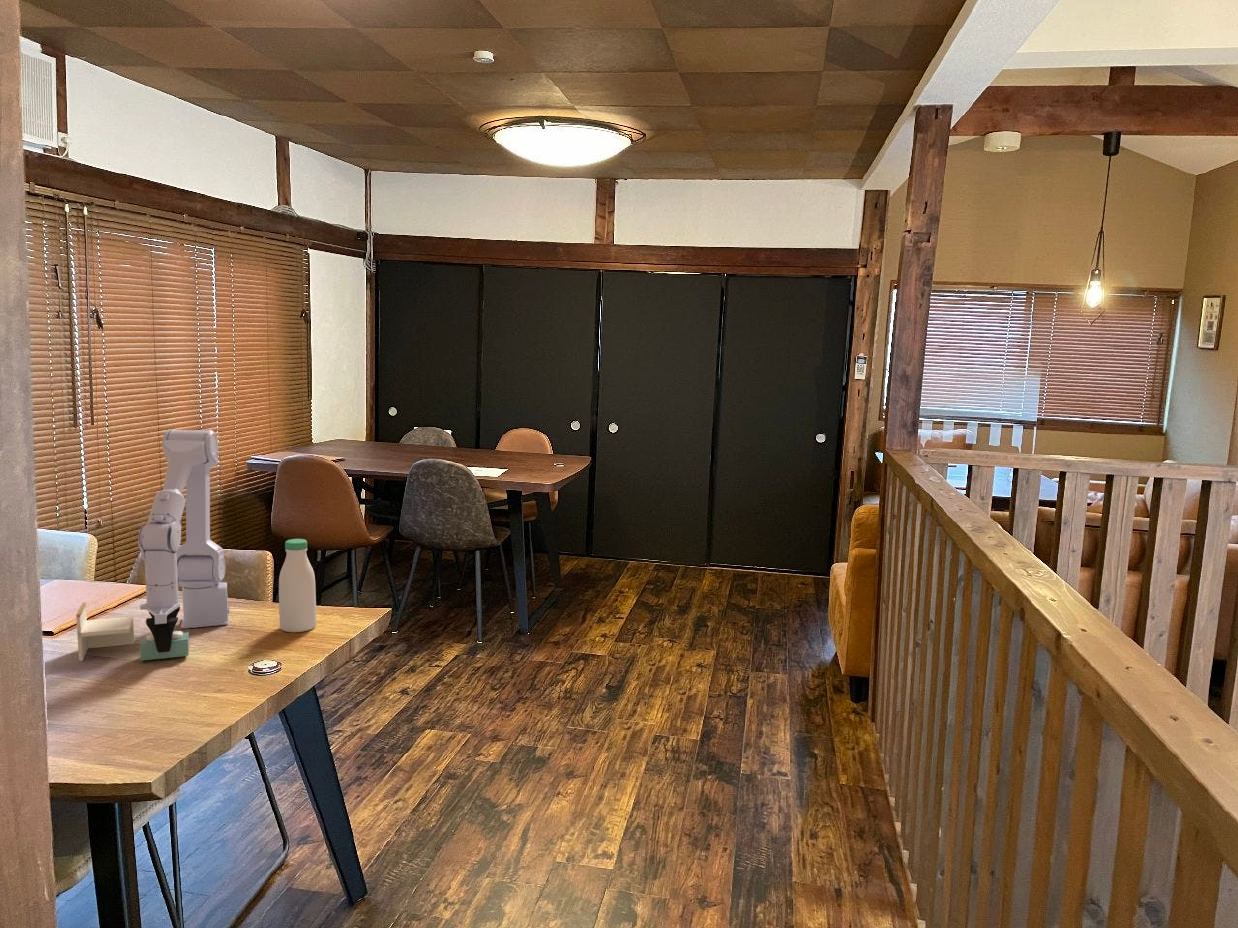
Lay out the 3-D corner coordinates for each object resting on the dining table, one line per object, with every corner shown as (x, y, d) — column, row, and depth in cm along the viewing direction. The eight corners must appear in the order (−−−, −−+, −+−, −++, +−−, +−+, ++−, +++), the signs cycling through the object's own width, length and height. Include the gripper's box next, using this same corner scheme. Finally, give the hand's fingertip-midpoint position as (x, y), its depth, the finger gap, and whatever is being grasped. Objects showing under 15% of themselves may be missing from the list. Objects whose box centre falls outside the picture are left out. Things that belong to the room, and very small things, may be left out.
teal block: (189, 647, 186) (188, 628, 185) (188, 655, 181) (187, 635, 181) (142, 652, 182) (141, 632, 182) (140, 660, 178) (139, 640, 177)
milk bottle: (322, 628, 202) (321, 541, 199) (290, 635, 197) (288, 546, 194) (305, 619, 207) (303, 534, 204) (273, 627, 202) (271, 540, 199)
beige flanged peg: (134, 642, 189) (132, 598, 188) (130, 656, 182) (128, 610, 181) (85, 647, 186) (82, 602, 184) (79, 661, 179) (76, 614, 177)
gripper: (142, 573, 185) (145, 637, 187) (135, 594, 171) (139, 662, 173) (180, 571, 187) (183, 633, 189) (176, 590, 174) (179, 657, 176)
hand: (164, 647), depth 182 cm, fingers closed on teal block, 4 cm apart
